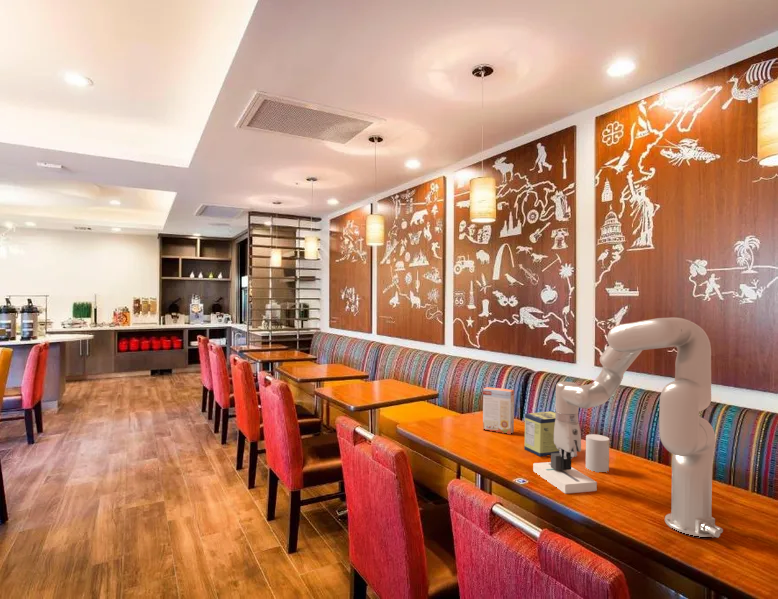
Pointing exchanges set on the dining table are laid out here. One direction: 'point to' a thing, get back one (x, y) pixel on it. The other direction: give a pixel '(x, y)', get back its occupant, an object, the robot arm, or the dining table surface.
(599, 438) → the white cylinder
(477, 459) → the dining table surface
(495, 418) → the cracker box
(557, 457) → the fader knob
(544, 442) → the protein box
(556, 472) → the fader console
